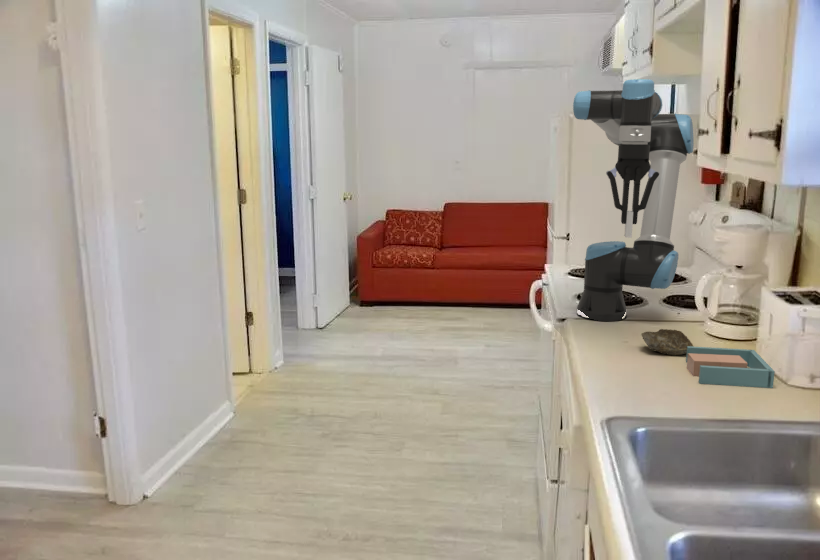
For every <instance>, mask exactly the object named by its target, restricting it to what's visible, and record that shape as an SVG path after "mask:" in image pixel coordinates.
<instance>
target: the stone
mask: <svg viewBox="0 0 820 560" xmlns="http://www.w3.org/2000/svg"><path fill="white" fill-rule="evenodd" d="M640 336H641V337H642V339H643V341H644V342H645V344H646V346H647V348H648V349H650V350H651V351H653V352H658V353H660V354H662V355H663V354H664V355H669V356H682V355H686V354H687V346H693V347H695V345H693V343H692V342H691V340H690V339H689V337H687V336H686V335H685V333H683V332H682V331H680V330H677V329H667V328H666V329H663V328H661V329H660V328H659V330H658V331H645V332H642V333H641V334H640Z"/></svg>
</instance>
